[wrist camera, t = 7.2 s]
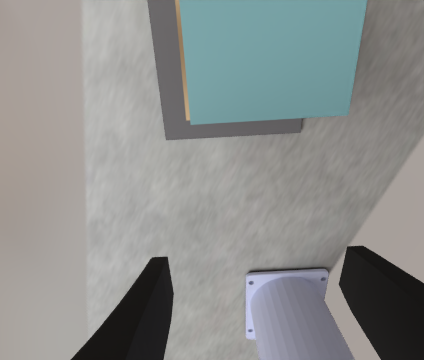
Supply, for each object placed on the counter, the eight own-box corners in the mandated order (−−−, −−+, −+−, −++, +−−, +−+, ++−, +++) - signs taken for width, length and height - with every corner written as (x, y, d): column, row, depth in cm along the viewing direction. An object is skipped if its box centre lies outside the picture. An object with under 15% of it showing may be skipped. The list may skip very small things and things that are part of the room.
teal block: (294, 101, 11) (348, 115, 7) (197, 107, 11) (190, 124, 7) (304, -22, 9) (384, -105, 5) (187, -14, 9) (170, -90, 5)
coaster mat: (298, 131, 18) (300, 132, 17) (166, 138, 18) (166, 140, 18) (314, -38, 14) (317, -42, 14) (145, -28, 14) (143, -31, 14)
